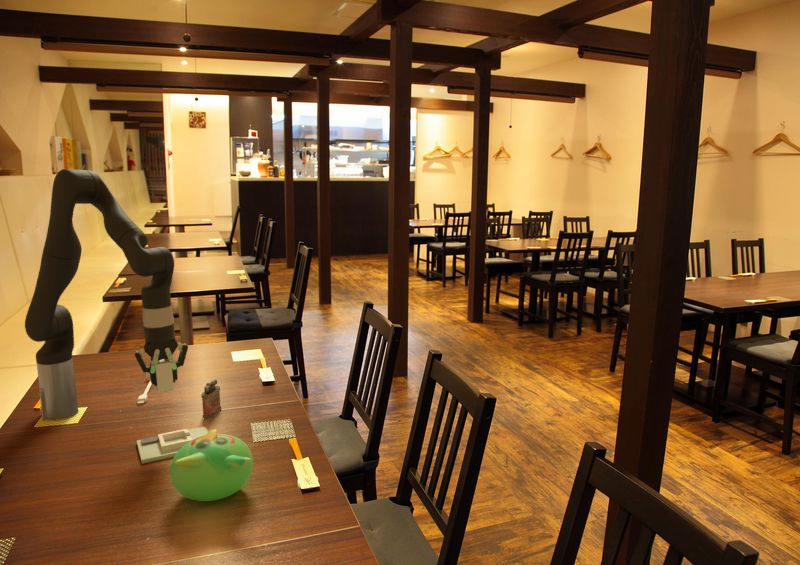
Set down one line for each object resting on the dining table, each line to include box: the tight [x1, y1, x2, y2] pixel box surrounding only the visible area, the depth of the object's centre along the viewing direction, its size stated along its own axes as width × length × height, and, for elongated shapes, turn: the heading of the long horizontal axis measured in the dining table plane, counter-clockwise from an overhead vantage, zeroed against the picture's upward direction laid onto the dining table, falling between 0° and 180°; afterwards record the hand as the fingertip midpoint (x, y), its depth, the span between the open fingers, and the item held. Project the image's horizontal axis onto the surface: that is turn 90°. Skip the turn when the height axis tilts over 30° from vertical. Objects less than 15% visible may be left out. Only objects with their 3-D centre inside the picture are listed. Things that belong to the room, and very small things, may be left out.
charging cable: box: [137, 372, 152, 405], centre depth 198 cm, size 5×32×3 cm, turn 12°
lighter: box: [200, 379, 222, 420], centre depth 176 cm, size 8×3×10 cm, turn 168°
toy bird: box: [169, 428, 254, 502], centre depth 133 cm, size 18×17×15 cm
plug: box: [155, 359, 175, 394], centre depth 158 cm, size 4×4×8 cm
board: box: [136, 426, 209, 465], centre depth 157 cm, size 18×12×3 cm, turn 119°
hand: (164, 383), depth 158 cm, fingers closed on plug, 4 cm apart
